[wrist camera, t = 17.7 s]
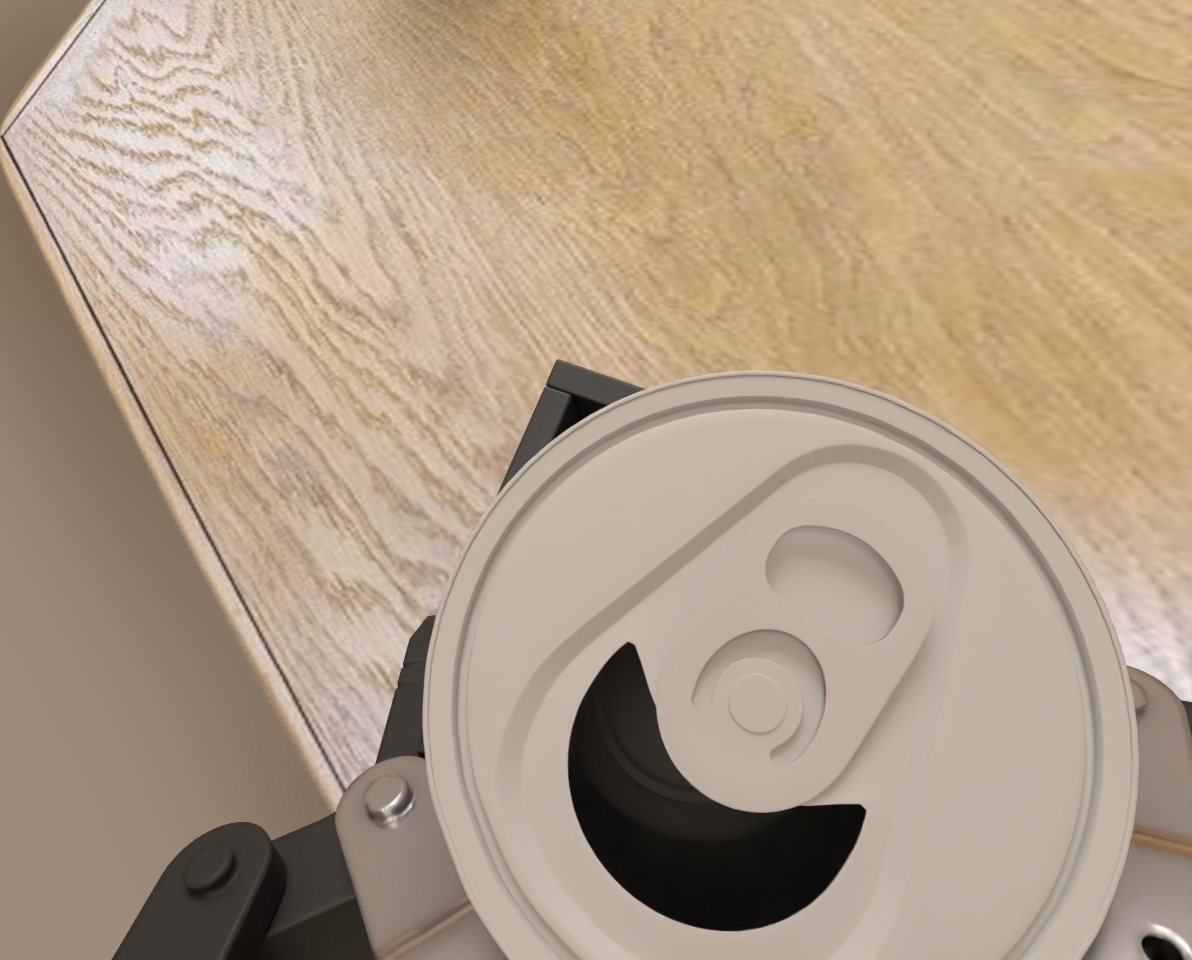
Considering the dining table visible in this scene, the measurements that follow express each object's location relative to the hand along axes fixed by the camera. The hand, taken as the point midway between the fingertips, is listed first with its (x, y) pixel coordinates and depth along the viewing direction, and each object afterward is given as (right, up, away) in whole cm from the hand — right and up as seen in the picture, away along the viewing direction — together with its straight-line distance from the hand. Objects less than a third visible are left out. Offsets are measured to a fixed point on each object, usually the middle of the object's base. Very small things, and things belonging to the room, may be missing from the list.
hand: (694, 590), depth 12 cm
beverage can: (+1, -3, +5) cm, 6 cm away
